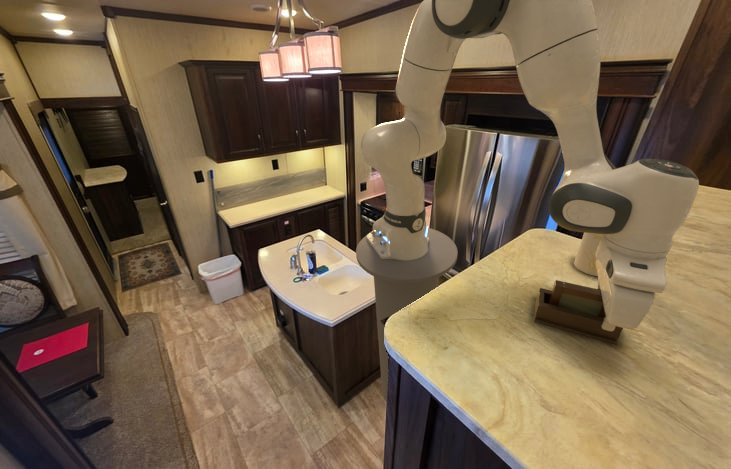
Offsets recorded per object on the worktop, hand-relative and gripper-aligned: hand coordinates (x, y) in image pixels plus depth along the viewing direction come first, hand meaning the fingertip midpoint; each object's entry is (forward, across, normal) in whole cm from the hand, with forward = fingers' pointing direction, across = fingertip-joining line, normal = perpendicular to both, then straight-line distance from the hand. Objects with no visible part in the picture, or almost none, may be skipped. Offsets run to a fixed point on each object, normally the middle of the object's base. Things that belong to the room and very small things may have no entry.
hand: (603, 311), depth 58 cm
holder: (+4, 0, -4) cm, 6 cm away
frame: (+4, 0, -4) cm, 5 cm away
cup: (+4, -23, +1) cm, 24 cm away
